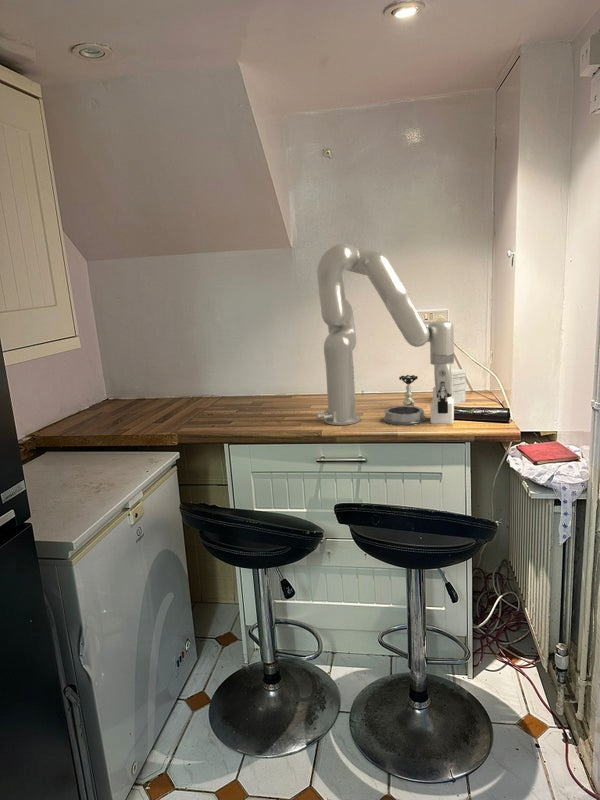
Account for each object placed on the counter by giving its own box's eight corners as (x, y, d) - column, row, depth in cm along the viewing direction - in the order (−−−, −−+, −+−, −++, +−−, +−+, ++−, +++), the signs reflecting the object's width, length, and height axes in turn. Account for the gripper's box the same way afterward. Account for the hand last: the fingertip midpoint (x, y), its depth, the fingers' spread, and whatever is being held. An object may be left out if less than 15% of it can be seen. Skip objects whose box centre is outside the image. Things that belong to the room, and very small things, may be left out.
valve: (417, 405, 217) (416, 374, 214) (418, 410, 211) (418, 377, 208) (399, 406, 218) (398, 375, 215) (400, 410, 211) (399, 378, 209)
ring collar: (400, 427, 188) (399, 417, 188) (375, 419, 201) (375, 409, 200) (433, 420, 194) (433, 410, 194) (408, 413, 207) (407, 403, 206)
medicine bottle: (453, 418, 196) (453, 384, 193) (452, 424, 189) (452, 388, 187) (432, 418, 198) (432, 384, 195) (430, 423, 191) (430, 388, 189)
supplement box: (437, 402, 221) (437, 369, 218) (452, 399, 224) (452, 367, 221) (451, 405, 214) (451, 372, 212) (466, 402, 218) (466, 369, 215)
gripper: (454, 362, 180) (455, 416, 184) (453, 354, 196) (453, 403, 200) (430, 363, 182) (430, 416, 185) (430, 355, 198) (431, 403, 202)
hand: (442, 409), depth 193 cm, fingers open, 9 cm apart
